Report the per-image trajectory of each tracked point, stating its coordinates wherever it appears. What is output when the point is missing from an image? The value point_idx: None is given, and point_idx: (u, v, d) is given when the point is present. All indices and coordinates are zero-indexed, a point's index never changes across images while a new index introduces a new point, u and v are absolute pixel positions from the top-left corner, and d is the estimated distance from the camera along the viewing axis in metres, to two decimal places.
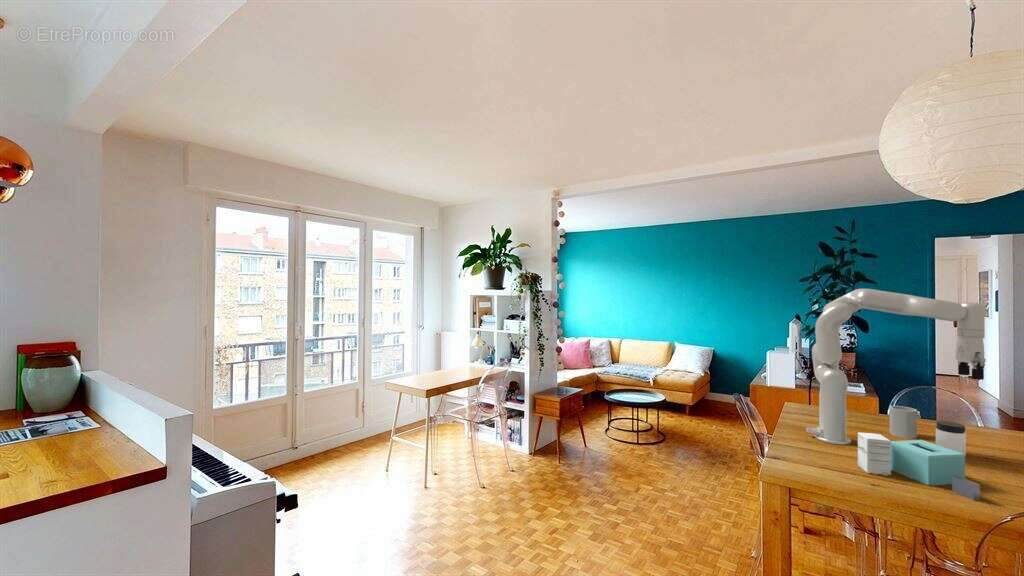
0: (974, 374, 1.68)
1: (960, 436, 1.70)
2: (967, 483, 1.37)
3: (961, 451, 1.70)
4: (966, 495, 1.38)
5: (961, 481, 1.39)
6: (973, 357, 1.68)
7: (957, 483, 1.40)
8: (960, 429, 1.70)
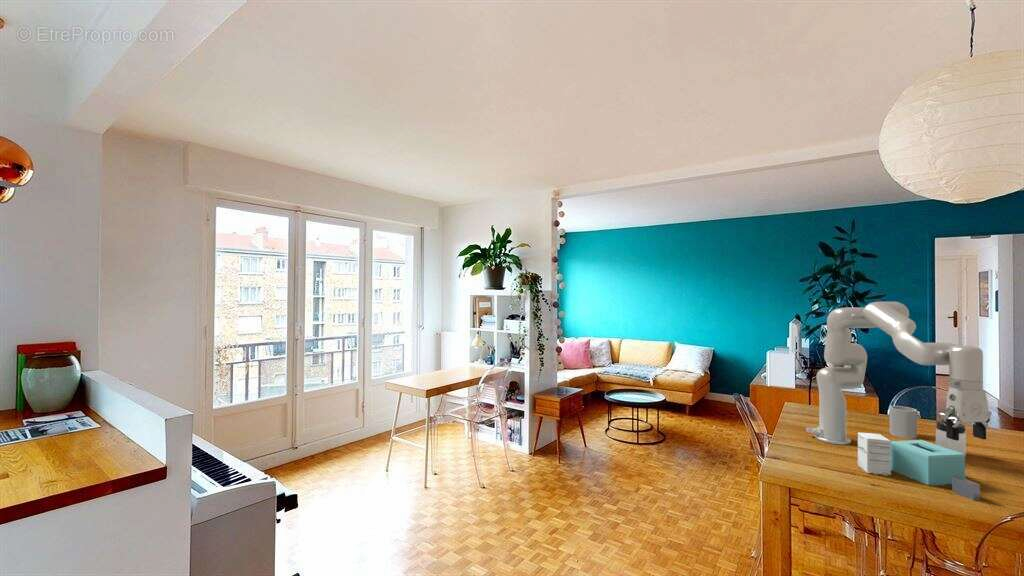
0: None
1: (960, 436, 1.70)
2: (967, 483, 1.37)
3: (961, 451, 1.70)
4: (966, 495, 1.38)
5: (961, 481, 1.39)
6: None
7: (957, 483, 1.40)
8: (960, 429, 1.70)
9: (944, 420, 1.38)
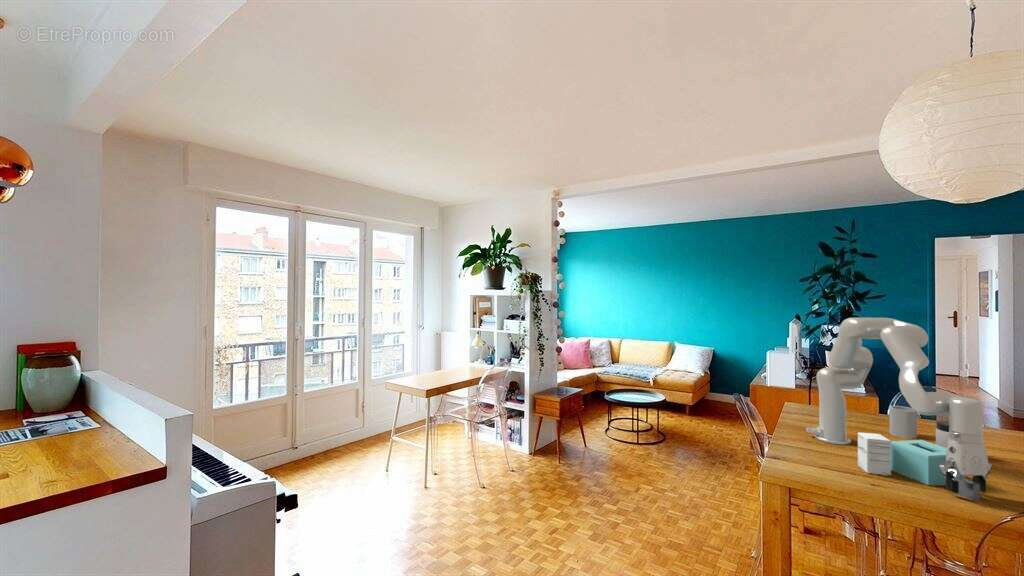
0: None
1: None
2: (967, 483, 1.37)
3: None
4: (966, 495, 1.38)
5: (961, 481, 1.39)
6: None
7: None
8: None
9: (944, 473, 1.38)
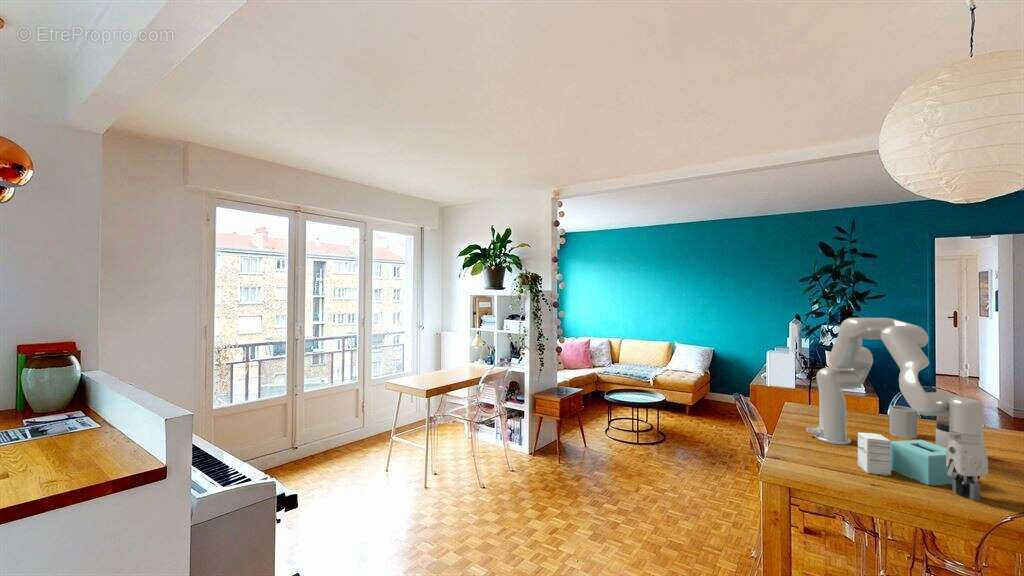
0: None
1: None
2: (967, 483, 1.37)
3: None
4: None
5: None
6: None
7: None
8: None
9: (954, 478, 1.39)
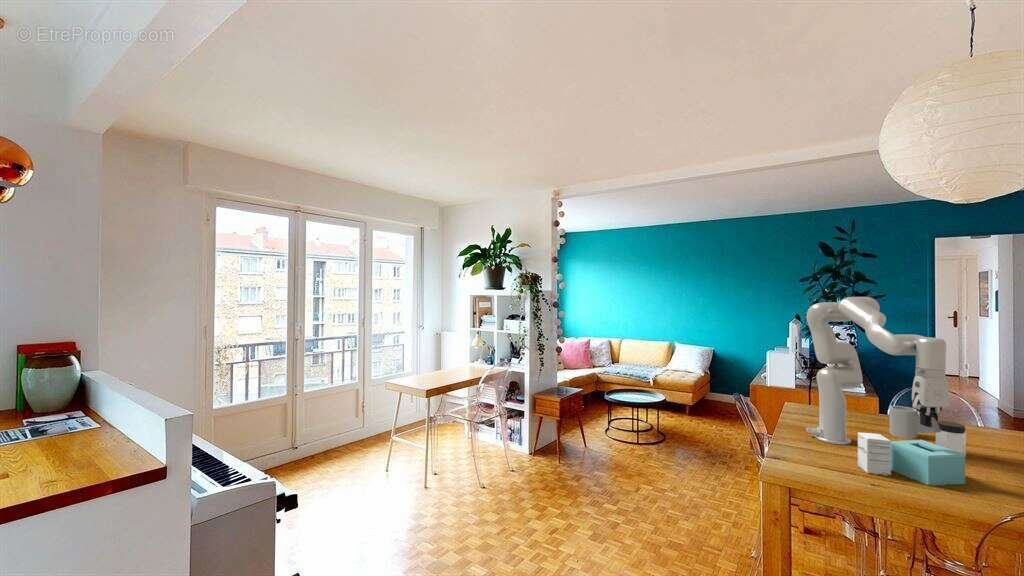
0: None
1: (960, 436, 1.70)
2: None
3: (961, 451, 1.70)
4: (928, 430, 1.51)
5: None
6: None
7: (918, 422, 1.54)
8: (960, 429, 1.70)
9: (919, 409, 1.52)
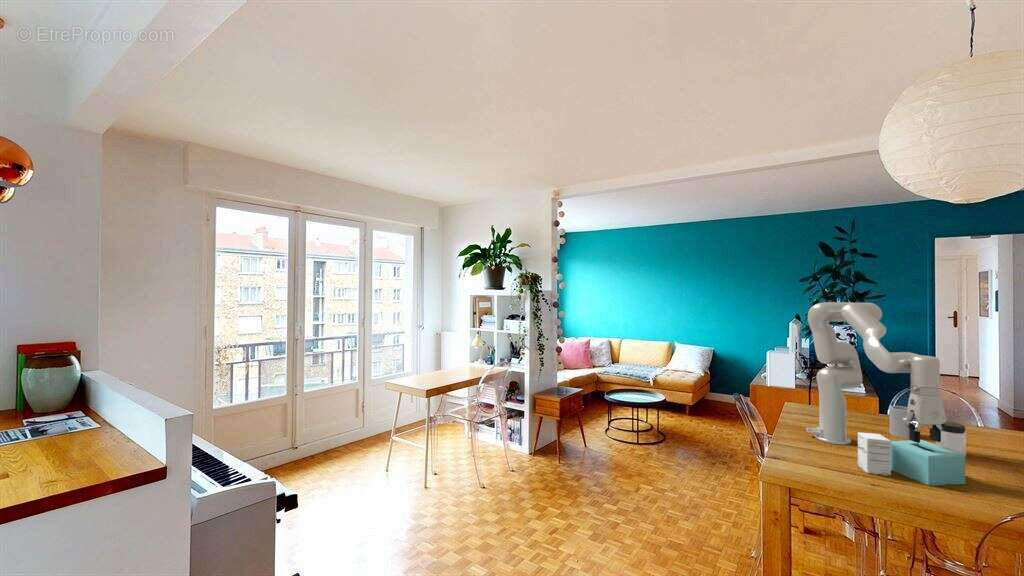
0: None
1: (960, 436, 1.70)
2: None
3: (961, 451, 1.70)
4: None
5: None
6: None
7: None
8: (960, 429, 1.70)
9: (907, 424, 1.53)
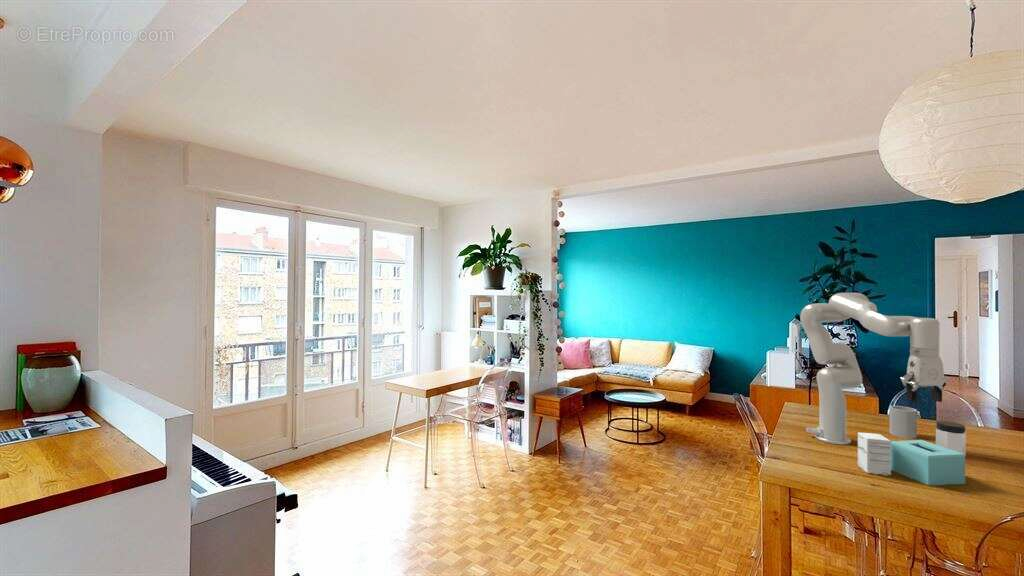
0: None
1: (960, 436, 1.70)
2: None
3: (961, 451, 1.70)
4: None
5: None
6: None
7: None
8: (960, 429, 1.70)
9: (904, 384, 1.53)
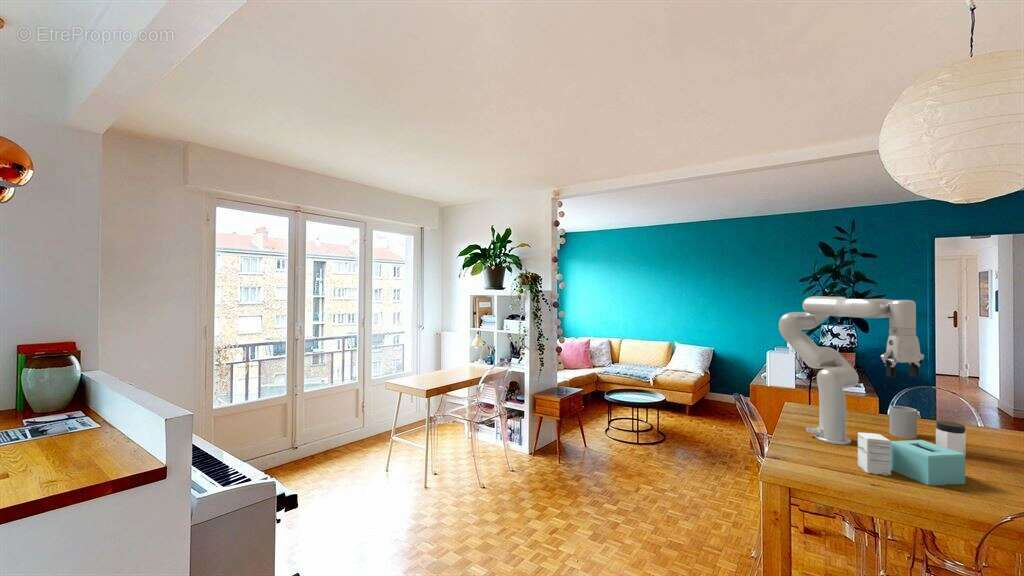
0: None
1: (960, 436, 1.70)
2: None
3: (961, 451, 1.70)
4: None
5: None
6: None
7: None
8: (960, 429, 1.70)
9: (884, 361, 1.66)
